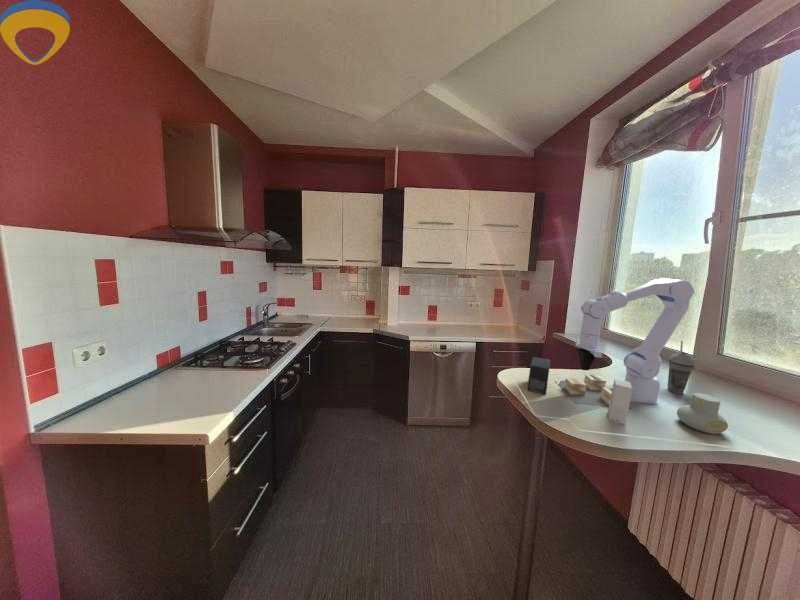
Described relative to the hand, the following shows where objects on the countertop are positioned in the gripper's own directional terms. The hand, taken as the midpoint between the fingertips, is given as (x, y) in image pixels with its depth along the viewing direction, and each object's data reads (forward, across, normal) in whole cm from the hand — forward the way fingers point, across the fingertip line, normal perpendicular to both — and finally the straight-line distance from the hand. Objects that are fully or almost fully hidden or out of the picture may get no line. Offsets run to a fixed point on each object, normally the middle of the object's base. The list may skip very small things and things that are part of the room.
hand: (584, 369), depth 108 cm
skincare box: (+9, +17, +3) cm, 19 cm away
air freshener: (+10, +17, +26) cm, 33 cm away
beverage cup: (+10, -10, +40) cm, 42 cm away
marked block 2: (+9, +6, +8) cm, 13 cm away
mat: (+9, 0, +3) cm, 10 cm away
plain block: (+9, 0, -2) cm, 9 cm away
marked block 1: (+9, -5, +7) cm, 12 cm away
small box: (+9, 0, -15) cm, 18 cm away
